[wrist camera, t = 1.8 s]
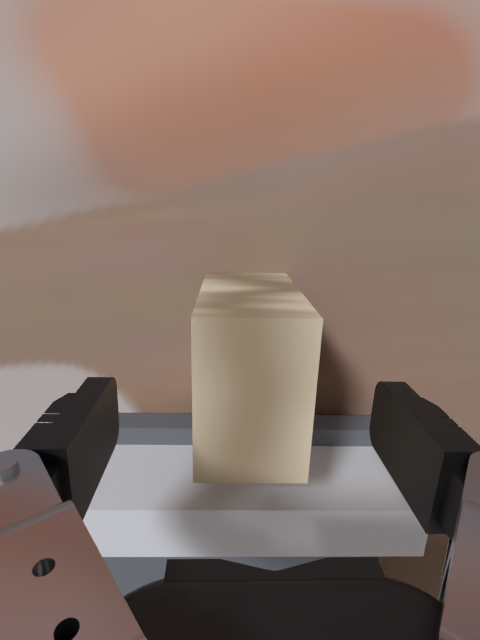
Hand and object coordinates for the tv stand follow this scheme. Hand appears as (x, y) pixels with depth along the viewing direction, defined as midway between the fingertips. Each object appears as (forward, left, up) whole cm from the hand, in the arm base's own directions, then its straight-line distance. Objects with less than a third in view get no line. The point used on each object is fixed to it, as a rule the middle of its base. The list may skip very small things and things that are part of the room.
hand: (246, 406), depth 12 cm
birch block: (0, 0, -9) cm, 9 cm away
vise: (0, +17, -9) cm, 19 cm away
